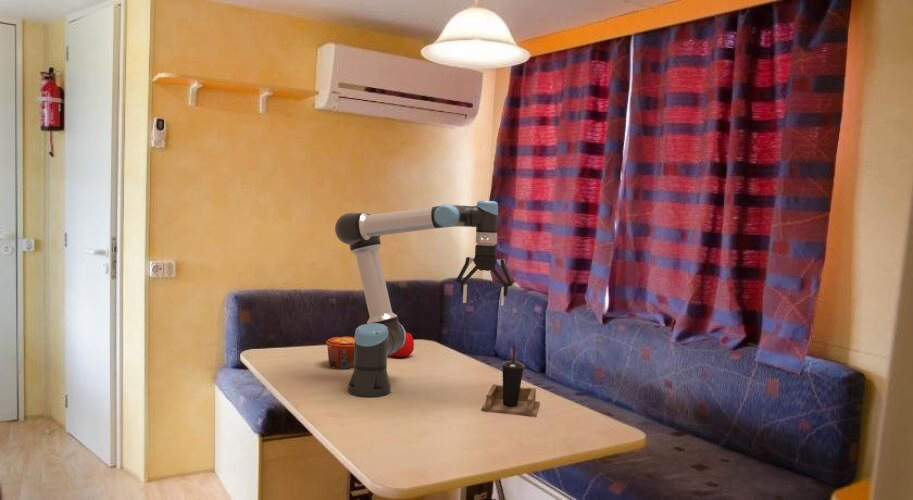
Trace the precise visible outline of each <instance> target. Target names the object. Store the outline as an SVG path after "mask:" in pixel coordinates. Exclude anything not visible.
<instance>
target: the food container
mask: <svg viewBox="0 0 913 500" xmlns="http://www.w3.org/2000/svg"><path fill="white" fill-rule="evenodd" d="M325 344H326V346H327V357H328V365H329V367H330V368H332V367H334V368H333V369H336V368H340V369H339V370H351V369H350V368H354V337H352V336H342V337H341V336H340V337H339V336H335V337H331V338H329V339H327V340H326V341H325Z"/></svg>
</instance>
